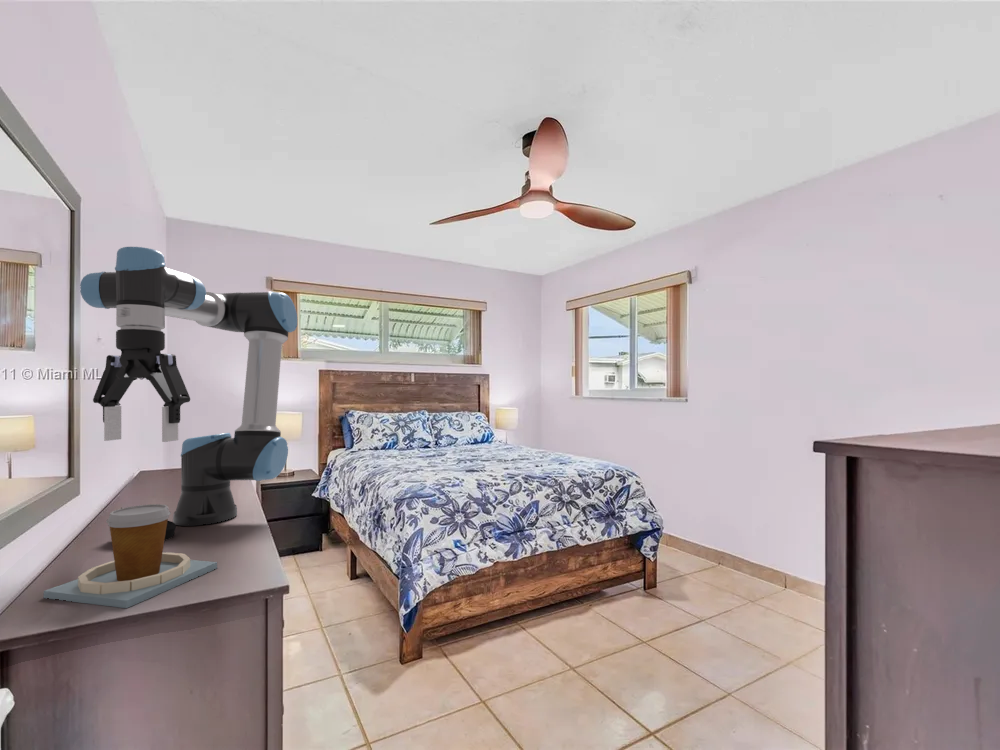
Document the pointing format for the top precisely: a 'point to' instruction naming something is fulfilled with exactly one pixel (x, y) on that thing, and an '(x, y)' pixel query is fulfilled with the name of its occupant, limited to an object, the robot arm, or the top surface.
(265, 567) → the top surface
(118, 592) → the collar base
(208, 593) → the top surface
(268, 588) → the top surface
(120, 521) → the disposable coffee cup
